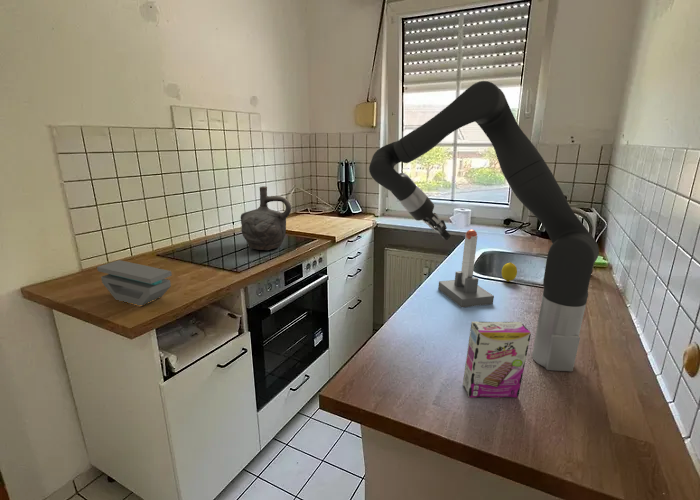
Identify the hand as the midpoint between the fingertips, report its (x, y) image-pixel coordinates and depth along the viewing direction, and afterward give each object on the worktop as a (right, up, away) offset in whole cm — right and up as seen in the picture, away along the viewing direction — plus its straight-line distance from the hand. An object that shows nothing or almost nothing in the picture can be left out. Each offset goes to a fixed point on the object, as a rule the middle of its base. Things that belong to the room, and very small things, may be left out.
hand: (447, 237), depth 123 cm
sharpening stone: (-104, -21, +3) cm, 106 cm away
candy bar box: (-1, -36, -40) cm, 54 cm away
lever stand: (+8, -20, +9) cm, 24 cm away
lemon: (+30, -17, +23) cm, 41 cm away
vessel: (-74, -3, +60) cm, 95 cm away
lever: (+8, -17, +8) cm, 20 cm away
